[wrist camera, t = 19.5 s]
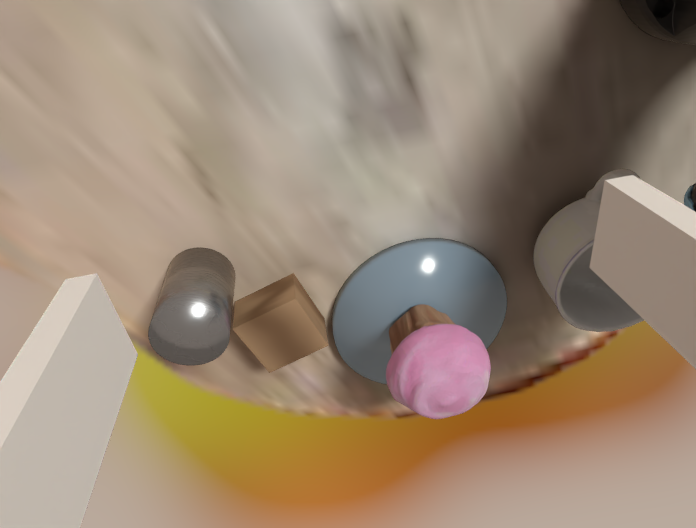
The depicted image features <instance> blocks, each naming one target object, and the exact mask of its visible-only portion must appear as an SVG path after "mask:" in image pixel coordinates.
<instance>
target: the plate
mask: <svg viewBox="0 0 696 528" xmlns="http://www.w3.org/2000/svg"><path fill="white" fill-rule="evenodd" d="M420 304H425V305H429V306H431V307H433V308H435V309H436V310H437V311H439V312H442V313H445V314H447V315H448V316H449V318H450V319H451V320H452V321H453V322H454V323H455V324H456V325H460V326H462V327H464V328H467V329H468V330H469V331H471V332H472V333H474V334H476V335H477V336H478V337H479V338H480V339H481V340H482V342H483V344H484V346H485V348H486V349H487V348H488V347H489V346H490V344H491V343H492V342H493V340H494V339H495V337H496V336H497V334H498V332H499V330H500V329H501V327H502V324H503V321H504V318H505V314H506V309H507V296H506V289H505V286H504V283H503V281H502V279H501V277H500V275H499V273H498V272H497V270H496V269H495V268H494V266H493V265H492V264H491V263H490V261H489V260H488V259H487V258H486V257H485V256H484V255H483V254H482V253H480V252H479V251H477V250H476V249H474V248H472V247H470V246H468V245H466V244H464V243H460V242H457V241H454V240H448V239H442V238H426V239H416V240H411V241H406V242H403V243H400V244H397V245H394V246H391V247H389V248H387V249H385V250H382V251H381V252H379V253H377V254H375V255H374V256H372V257H370V258H369V259H368V260H367V261H365V262H364V263H363V264H361V265H360V266H359V267H358V268H357V269H356V270H355V271H354V272H353V273H352V274H351V275H350V277H349V278H348V279H347V280H346V281H345V283H344V285H343V286H342V288H341V289H340V291H339V293H338V296H337V298H336V300H335V304H334V307H333V313H332V330H333V335H334V340H335V344H336V347H337V349H338V352H339V354H340V355H341V357H342V358H343V360H344V361H345V362H346V363H347V364H348V366H349V367H351V368H352V369H353V370H354V371H355V372H357V373H358V374H360V375H362V376H363V377H366V378H368V379H370V380H372V381H376V382H379V383H383V384H387V381H386V368H387V364H388V362H389V360H390V358H391V356H392V353H391V347H390V337H389V329H390V327H391V326H392V325H393V324H394V323H395V322H396V320H398V319H399V318H401V317H402V316H403V315H404V314H405V313H406V312H408V311H409V310H410V309H411V308H412V307H414V306H416V305H420Z"/></svg>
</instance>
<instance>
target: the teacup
mask: <svg viewBox="0 0 696 528" xmlns="http://www.w3.org/2000/svg"><path fill="white" fill-rule="evenodd" d="M630 175H634V176H635V177H637V178H639V179H640V177H639V176H638V175H637V174H636V173H635V172H633V171H631V170H628V169H617V170H613V171H610V172H608V173H606V174H604V175H603V176H602V177H601V178H600V179H599V180H598V182H597V183H596V185H595V186H594V188H593V189H591V190H589V191H588V192H587V194H586V197H585V198H582V199H580V200H577V201H575V202H573V203H571V204H569V205H567V206H566V207H564V208H563V209H561V210H560V211H558V212H557V213H556V214H555V215H554V216H553V217H552V218H551V219H550V220H549V221H548V222H547V223H546V225H545V226H544V227H543V229H542V230H541V232H540V234H539V236H538V238H537V240H536V244H535V248H534V256H533V259H534V266H535V270H536V273H537V275H538V278H539V280H540V282H541V283H542V285H543V287H544V288H545V290H546V291H547V293H548V294H549V296H550V297H551V299H552V300H553V302H554V303H555V304H556V306H557V309H558V311H559V313H560V314H561V316H562V317H563V318H564V319H565V320H566V321H567V322H568V323H569V324H571V325H573V326H574V327H576V328H579V329H583V330H587V331H595V332H602V331H615V330H618V329H622V328H625V327H629V326H632V325H634V324H636V323H639V322H641V321H643V320H644V319H643V318H642V317H641V316H640V315H639V314H638V313H637V312H636V311H634V310H633V309H632V308H631V307H630V306H629V305H628V304H627V303H626V302H625V301H624V300H623V299H622V298H621V297H620V296H619V295H618V294H617V293H616V292H615V291H613V290H612V289H611V288H610V287H609V286H608V285H607V284H606V283H605V282H604V281H603V280H602V279H601V278H600V277H599V276H598V275H597V274H596V273H595V272H594V271H593V270H591V269H590V268H589V267H590V261H591V256H592V250H593V244H594V239H595V233H596V227H597V221H598V216H599V210H600V204H601V198H602V193H603V187H604V181H605V180H608V179H613V178H619V177H624V176H630Z"/></svg>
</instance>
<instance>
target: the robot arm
mask: <svg viewBox="0 0 696 528" xmlns="http://www.w3.org/2000/svg"><path fill="white" fill-rule="evenodd" d="M620 2H621V4H622V6H623V8H624V10H625V12H626V13H627V15H628V16H629V18H630V19H631V20H632V21H633V22H634V23H635V24H636V25H637V26H638V27H639V28H640V29H641V30H643V31H644V32H646V33H648V34H649V35H651V36H654V37H656V38H659V39H663V40H668V41H673V42H678V43H683V44H691V45H696V0H620ZM589 268H590V269H591V270H593V271H594V272H595V273H596V274H597V275H598V276H599V277H600V278H601V279H602V280H603V281H604V282H605V283H606V284H607V285H608V286H609V287H610V288H611V289H612V290H613V291H615V292H616V293H617V294H618V295H619V296H620V297H621V298H622V299H623V300H624V301H625V302H626V303H627V304H628V305H629V306H630V307H631V308H632V309H633V310H634V311H636V312H637V313H638V314H639V315H640V316H641V317H642V318H643V319H644V320H645V321H646V322H647V323H648V324H649V325H650V326H651V327H652V328H653V329H654V330H655V331H656V332H658V333H659V334H660V335H661V336H662V337H663V338H664V339H665V340H666V341H667V342H668V343H669V344H670V345H671V346H672V347H673V348H674V349H675V350H676V351H677V352H679V353H680V354H681V355H682V356H683V357H684V358H685V359H686V360H687V361H688V362H689V363H690V364H691V365H692V366H693V367H694V368H695V369H696V183H695V184H694V185H692V186H690V187H689V188H688V190H687V192H686V194H685V196H684V205H683V204H681V203H680V202H678V201H676V200H675V199H673V198H671V197H670V196H668V195H666V194H664V193H663V192H661V191H659V190H658V189H656V188H654V187H652V186H651V185H649V184H647V183H646V182H644V181H642V180H641V179H639V178H637V177H635V176H634V175H630V176H624V177H619V178H613V179H608V180H605V181H604V187H603V193H602V198H601V204H600V210H599V216H598V221H597V227H596V233H595V239H594V244H593V250H592V256H591V261H590V267H589ZM137 356H138V354H137V352H136V350H135V348H134V346H133V344H132V342H131V340H130V338H129V336H128V334H127V332H126V330H125V328H124V326H123V324H122V322H121V320H120V318H119V316H118V314H117V312H116V310H115V308H114V306H113V304H112V302H111V300H110V298H109V296H108V294H107V292H106V290H105V288H104V286H103V284H102V282H101V280H100V278H99V276H98V274H97V273H96V274H91V275H85V276H80V277H75V278H69V279H65V281H64V283H63V284H62V286H61V287H60V289H59V290H58V292H57V294H56V295H55V297H54V298H53V300H52V302H51V303H50V305H49V306H48V308H47V309H46V311H45V312H44V314H43V316H42V317H41V319H40V320H39V322H38V323H37V325H36V326H35V328H34V330H33V331H32V333H31V334H30V336H29V337H28V339H27V341H26V343H25V344H24V345H23V347H22V348H21V350H20V352H19V353H18V355H17V356H16V358H15V360H14V361H13V363H12V364H11V366H10V367H9V369H8V370H7V372H6V374H5V375H4V377H3V378H2V380H1V381H0V528H80V527H81V524H82V521H83V518H84V515H85V512H86V509H87V506H88V503H89V500H90V497H91V494H92V491H93V488H94V485H95V482H96V479H97V476H98V473H99V470H100V467H101V464H102V461H103V458H104V455H105V452H106V449H107V446H108V443H109V440H110V437H111V434H112V431H113V428H114V425H115V422H116V419H117V416H118V413H119V410H120V407H121V404H122V401H123V398H124V395H125V392H126V389H127V386H128V383H129V379H130V377H131V374H132V371H133V368H134V364H135V362H136V359H137Z"/></svg>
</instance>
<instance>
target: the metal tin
mask: <svg viewBox="0 0 696 528" xmlns="http://www.w3.org/2000/svg"><path fill="white" fill-rule="evenodd" d="M234 286H235V271H234V268H233V266H232V264H231V262H230V261H229V260H228V259H227V258H226V257H225V256H224V255H222V254H221V253H219V252H217V251H215V250H212V249H208V248H191V249H188V250H185V251H183V252H181V253H179V254H178V255H176V256H175V257H174V258H173V260H172V261H171V263H170V265H169V267H168V271H167V274H166V277H165V280H164V283H163V286H162V289H161V292H160V295H159V299H158V302H157V305H156V308H155V311H154V314H153V317H152V320H151V324H150V327H149V331H148V337H149V341H150V344H151V346H152V347H153V349H154V350H155V351H156V352H157V353H158V354H159V355H160V356H161V357H163V358H165V359H166V360H168V361H171V362H173V363H177V364H181V365H200V364H205V363H208V362H210V361H213V360H214V359H216V358H218V357H219V356H220V355H221V354H222V353H223V352H224V351H225V349H226V348H227V346H228V343H229V337H230V327H231V317H232V307H233V296H234Z"/></svg>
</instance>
